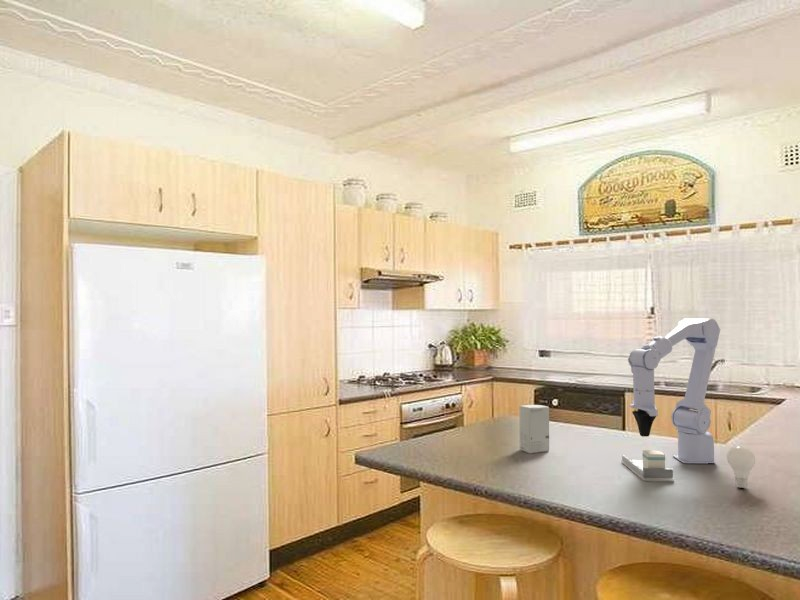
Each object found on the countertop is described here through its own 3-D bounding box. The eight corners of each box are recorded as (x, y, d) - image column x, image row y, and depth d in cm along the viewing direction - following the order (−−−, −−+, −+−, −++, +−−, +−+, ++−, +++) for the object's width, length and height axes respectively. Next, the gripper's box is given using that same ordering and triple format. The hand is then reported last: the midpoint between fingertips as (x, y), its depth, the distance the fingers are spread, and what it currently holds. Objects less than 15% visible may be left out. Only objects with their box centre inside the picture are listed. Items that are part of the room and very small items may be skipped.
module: (659, 471, 155) (659, 450, 155) (665, 476, 151) (665, 454, 151) (642, 471, 155) (642, 450, 155) (648, 476, 151) (647, 454, 151)
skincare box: (529, 454, 177) (529, 408, 178) (518, 449, 183) (518, 405, 183) (550, 451, 181) (550, 406, 181) (539, 447, 186) (538, 403, 186)
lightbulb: (756, 494, 138) (755, 450, 139) (727, 489, 142) (726, 447, 142) (755, 487, 144) (755, 445, 144) (727, 483, 147) (726, 442, 147)
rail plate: (648, 462, 167) (648, 452, 167) (674, 481, 149) (673, 469, 149) (621, 462, 167) (621, 451, 167) (643, 481, 149) (643, 469, 149)
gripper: (621, 386, 169) (622, 430, 169) (639, 393, 154) (640, 442, 154) (644, 386, 168) (645, 430, 168) (664, 393, 154) (665, 442, 154)
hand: (644, 436), depth 161 cm, fingers closed
